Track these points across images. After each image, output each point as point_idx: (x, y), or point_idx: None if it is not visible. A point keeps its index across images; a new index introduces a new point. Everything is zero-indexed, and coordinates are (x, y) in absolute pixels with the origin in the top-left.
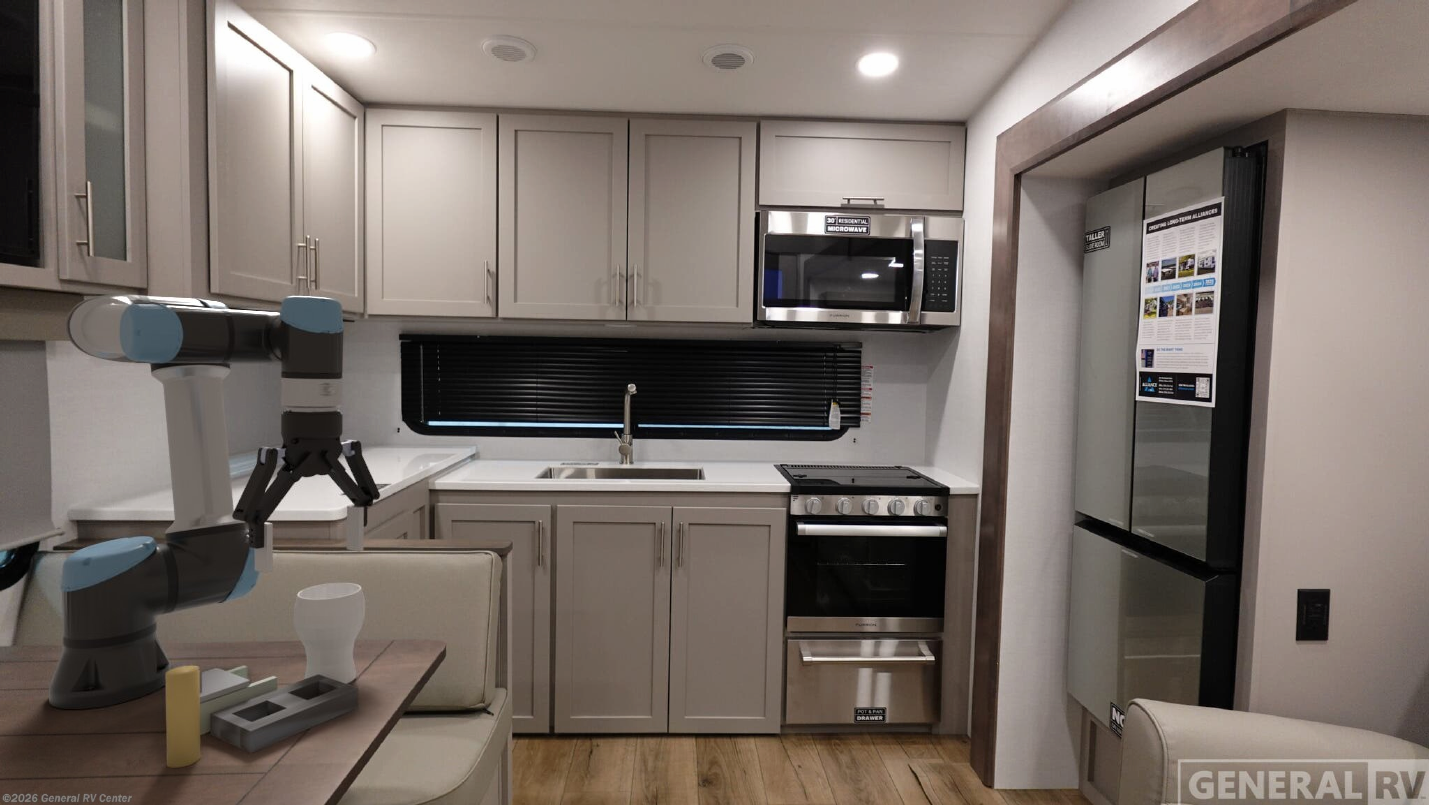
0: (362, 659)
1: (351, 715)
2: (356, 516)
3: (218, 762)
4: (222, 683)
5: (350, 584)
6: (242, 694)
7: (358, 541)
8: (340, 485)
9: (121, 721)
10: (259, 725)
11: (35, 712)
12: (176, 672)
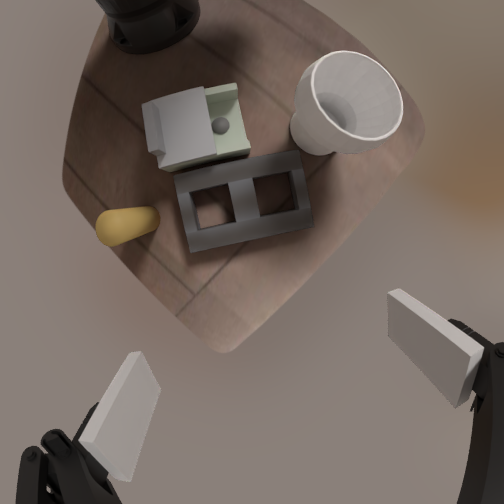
0: None
1: (295, 237)
2: (441, 380)
3: (169, 245)
4: (190, 140)
5: (394, 86)
6: (209, 157)
7: (401, 347)
8: (479, 466)
9: (134, 91)
10: (200, 245)
11: (103, 40)
12: (104, 229)
